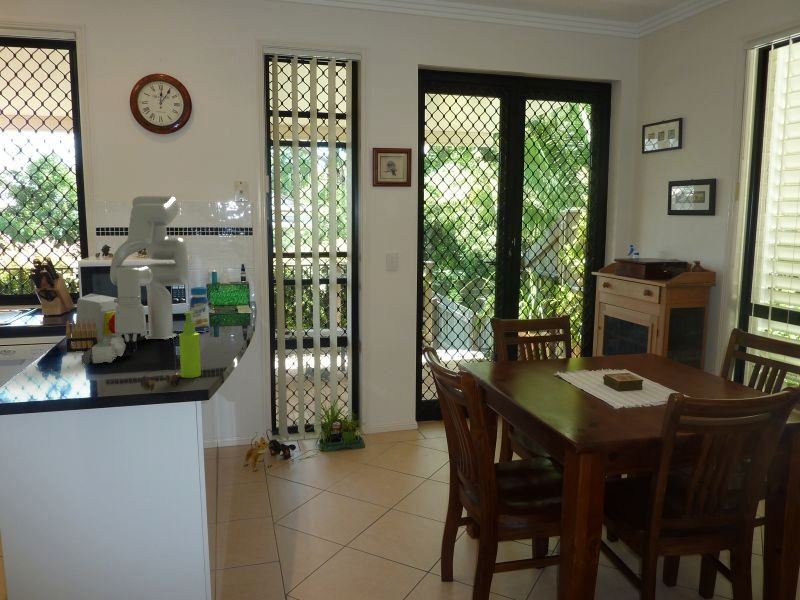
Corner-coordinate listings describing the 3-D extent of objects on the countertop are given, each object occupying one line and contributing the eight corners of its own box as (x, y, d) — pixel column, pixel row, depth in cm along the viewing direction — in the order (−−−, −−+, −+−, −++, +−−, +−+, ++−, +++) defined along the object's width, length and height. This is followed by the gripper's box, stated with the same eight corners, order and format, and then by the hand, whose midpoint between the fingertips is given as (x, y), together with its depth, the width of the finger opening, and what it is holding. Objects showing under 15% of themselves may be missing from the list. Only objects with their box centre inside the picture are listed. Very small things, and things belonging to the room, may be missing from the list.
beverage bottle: (213, 330, 283) (211, 286, 281) (205, 333, 274) (203, 288, 272) (195, 330, 284) (193, 286, 282) (187, 333, 275) (185, 288, 273)
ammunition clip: (66, 352, 231) (64, 320, 230) (67, 351, 233) (65, 319, 232) (97, 350, 234) (96, 319, 233) (98, 349, 236) (97, 318, 235)
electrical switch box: (107, 351, 244) (111, 301, 241) (74, 344, 246) (77, 295, 244) (130, 345, 258) (134, 298, 255) (98, 338, 261) (102, 292, 258)
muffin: (121, 353, 228) (120, 335, 227) (129, 355, 224) (128, 336, 223) (104, 356, 223) (103, 337, 222) (112, 358, 219) (111, 339, 218)
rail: (97, 351, 233) (96, 335, 232) (124, 350, 235) (123, 334, 235) (81, 364, 210) (80, 346, 209) (111, 362, 212) (110, 345, 212)
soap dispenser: (204, 372, 196) (201, 310, 194) (197, 377, 190) (195, 312, 188) (185, 372, 196) (182, 310, 194) (178, 377, 189) (175, 313, 187)
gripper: (105, 303, 217) (107, 354, 219) (150, 302, 221) (152, 352, 223) (109, 301, 224) (111, 351, 226) (153, 300, 228) (155, 349, 230)
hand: (132, 351), depth 224 cm, fingers closed
